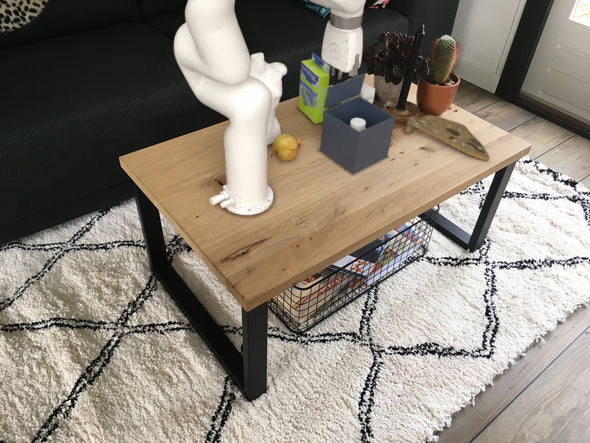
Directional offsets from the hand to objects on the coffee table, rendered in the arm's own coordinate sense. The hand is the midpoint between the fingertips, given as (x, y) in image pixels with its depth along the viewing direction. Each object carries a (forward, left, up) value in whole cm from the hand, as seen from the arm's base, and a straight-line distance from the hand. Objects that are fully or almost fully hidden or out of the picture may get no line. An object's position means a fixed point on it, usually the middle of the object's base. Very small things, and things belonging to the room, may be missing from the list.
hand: (338, 90), depth 131 cm
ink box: (+12, +4, -16) cm, 20 cm away
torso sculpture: (-17, +12, -16) cm, 26 cm away
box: (+4, +14, -16) cm, 21 cm away
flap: (0, -2, +1) cm, 3 cm away
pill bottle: (0, -8, -15) cm, 17 cm away
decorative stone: (+28, -20, -18) cm, 39 cm away
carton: (0, -8, -15) cm, 18 cm away
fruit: (-16, +2, -16) cm, 22 cm away
